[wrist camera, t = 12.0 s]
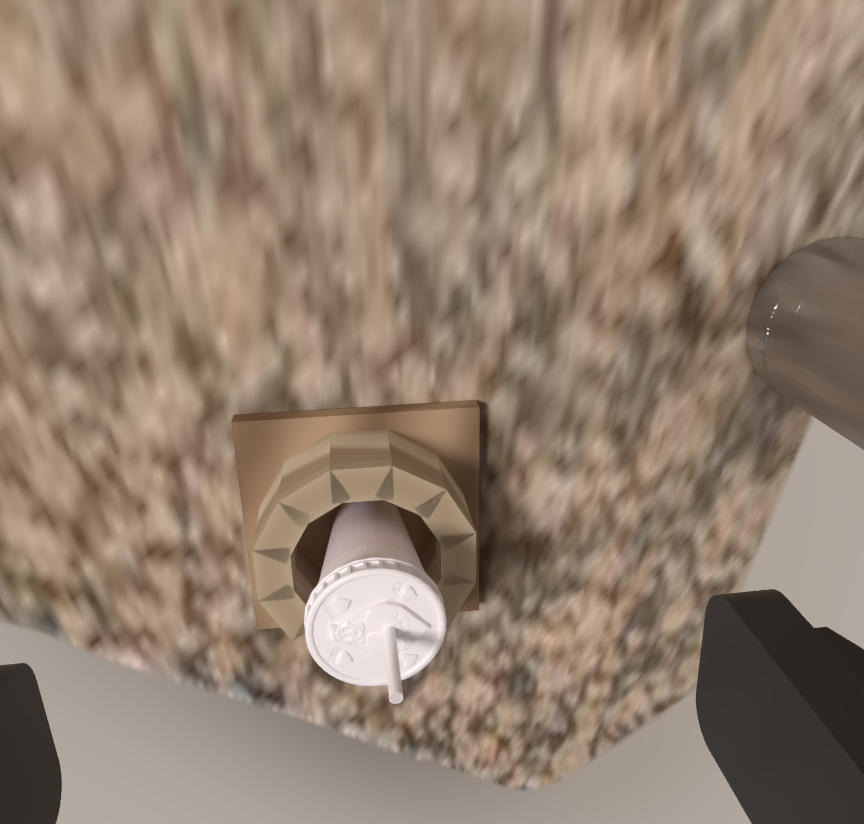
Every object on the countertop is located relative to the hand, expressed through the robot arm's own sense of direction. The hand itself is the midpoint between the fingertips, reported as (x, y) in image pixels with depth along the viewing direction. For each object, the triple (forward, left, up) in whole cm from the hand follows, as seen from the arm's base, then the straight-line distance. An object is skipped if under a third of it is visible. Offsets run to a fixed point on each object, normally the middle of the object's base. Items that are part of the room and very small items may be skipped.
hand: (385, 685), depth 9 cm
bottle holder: (0, +16, -32) cm, 36 cm away
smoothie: (0, +16, -31) cm, 35 cm away
